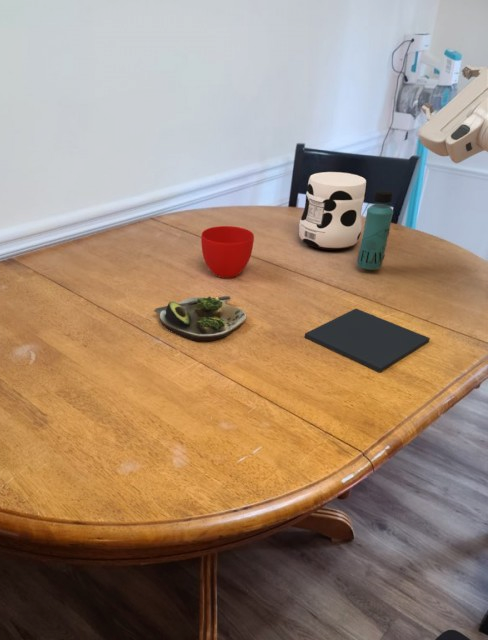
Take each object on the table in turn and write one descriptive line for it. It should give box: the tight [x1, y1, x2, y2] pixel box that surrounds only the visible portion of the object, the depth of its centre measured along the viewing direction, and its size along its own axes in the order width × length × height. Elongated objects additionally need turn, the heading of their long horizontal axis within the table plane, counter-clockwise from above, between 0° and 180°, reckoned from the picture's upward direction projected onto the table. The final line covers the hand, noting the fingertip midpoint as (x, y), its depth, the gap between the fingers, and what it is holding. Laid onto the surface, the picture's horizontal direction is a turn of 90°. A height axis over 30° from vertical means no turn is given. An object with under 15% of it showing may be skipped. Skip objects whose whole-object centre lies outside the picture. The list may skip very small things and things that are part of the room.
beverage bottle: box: [356, 189, 394, 271], centre depth 141 cm, size 6×7×20 cm
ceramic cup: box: [200, 225, 255, 278], centre depth 143 cm, size 13×17×10 cm
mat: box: [304, 308, 431, 374], centre depth 116 cm, size 18×18×1 cm
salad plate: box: [153, 295, 247, 343], centre depth 122 cm, size 19×18×5 cm
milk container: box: [298, 171, 367, 251], centre depth 157 cm, size 17×17×18 cm
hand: (444, 88), depth 114 cm, fingers open, 8 cm apart
